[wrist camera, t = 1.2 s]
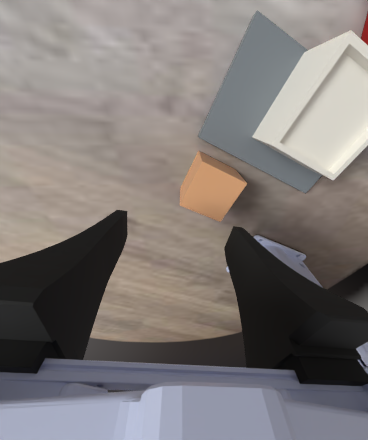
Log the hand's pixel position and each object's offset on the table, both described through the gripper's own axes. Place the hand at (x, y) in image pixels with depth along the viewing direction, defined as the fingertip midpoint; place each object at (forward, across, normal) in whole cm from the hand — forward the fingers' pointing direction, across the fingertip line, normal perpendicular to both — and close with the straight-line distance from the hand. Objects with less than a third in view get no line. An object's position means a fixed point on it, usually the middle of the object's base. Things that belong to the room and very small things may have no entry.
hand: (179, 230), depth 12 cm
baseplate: (+10, -9, -7) cm, 15 cm away
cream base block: (+9, -10, -8) cm, 16 cm away
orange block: (+10, -3, -1) cm, 10 cm away
